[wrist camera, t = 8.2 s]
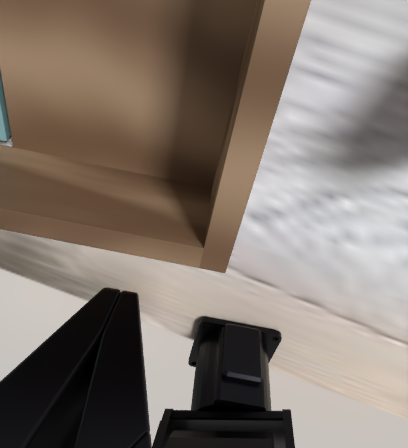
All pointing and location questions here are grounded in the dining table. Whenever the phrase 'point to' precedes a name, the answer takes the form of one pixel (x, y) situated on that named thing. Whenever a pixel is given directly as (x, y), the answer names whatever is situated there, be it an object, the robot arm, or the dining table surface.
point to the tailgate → (3, 114)
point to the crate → (140, 119)
